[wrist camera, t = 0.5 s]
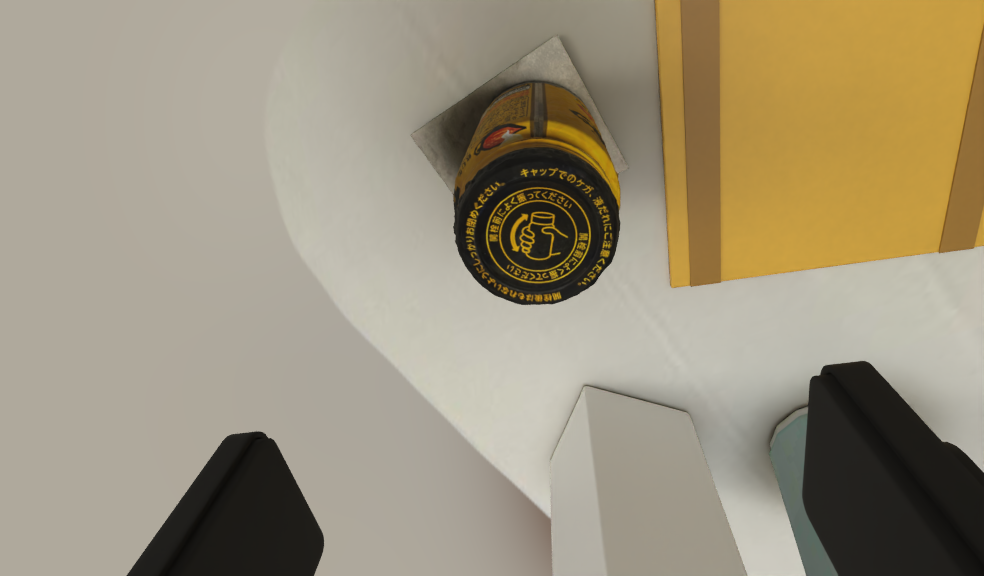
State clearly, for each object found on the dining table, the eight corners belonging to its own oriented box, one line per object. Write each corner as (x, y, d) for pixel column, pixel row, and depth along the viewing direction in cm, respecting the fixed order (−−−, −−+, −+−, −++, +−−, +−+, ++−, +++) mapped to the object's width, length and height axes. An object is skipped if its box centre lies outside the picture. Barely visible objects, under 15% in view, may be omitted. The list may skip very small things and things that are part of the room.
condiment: (628, 166, 27) (684, 273, 17) (489, 245, 30) (463, 380, 20) (556, 34, 25) (570, 62, 14) (411, 133, 27) (332, 219, 17)
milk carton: (583, 382, 34) (627, 752, 18) (689, 411, 35) (829, 796, 18) (549, 460, 38) (557, 830, 21) (645, 484, 38) (729, 866, 21)
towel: (642, -222, 20) (644, -227, 20) (1135, -361, 18) (1150, -370, 17) (670, 284, 30) (672, 289, 30) (988, 241, 28) (996, 245, 28)
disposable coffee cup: (863, 343, 31) (1098, 596, 18) (944, 449, 35) (1193, 728, 21) (704, 431, 35) (802, 691, 22) (790, 518, 39) (920, 790, 25)
